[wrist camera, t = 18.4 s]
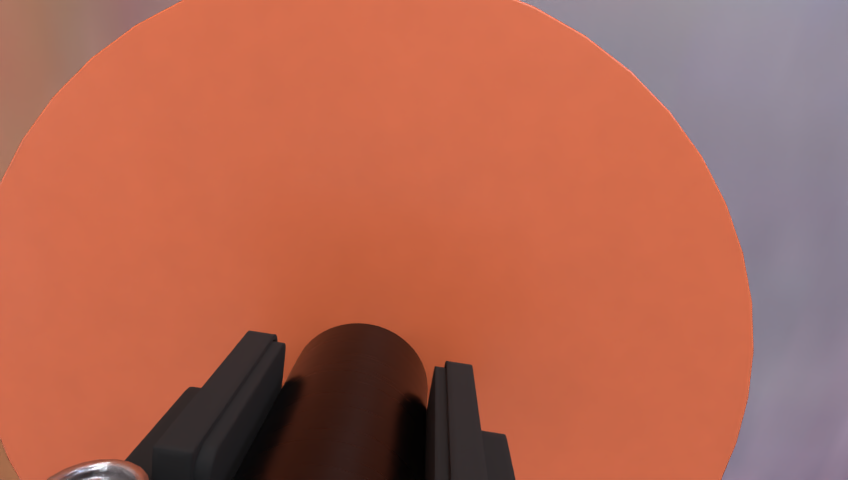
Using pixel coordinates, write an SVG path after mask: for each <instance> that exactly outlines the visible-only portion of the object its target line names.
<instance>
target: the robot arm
mask: <svg viewBox="0 0 848 480" xmlns="http://www.w3.org/2000/svg"><path fill="white" fill-rule="evenodd" d="M285 352H286V345H285V343H282V342H278V340H277V335H276V334H269V333H263V332H257V331H250V330H249V331H248V332H247V333H246V334H245V335H244V337H243V338H242V339H241V340H240V341H239V343H238V344H237V345H236V346H235V347H234V349H233V350H232V351H231V352H230V354H229V355H228V356H227V357H226V358H225V360H224V361H223V362H222V363H221V365H220V366H219V367H218V368H217V369H216V371H215V372H214V373H213V374H212V376H211V377H210V378H209V379H208V380H207V382H206V383H205V384H204V385H203V386H202V388H199V387H189V388H188V389H187V390H185V391H184V393H183V394H182V395H181V396H180V397H179V398H178V400H177V401H176V402H175V403H174V404H173V405H172V406H171V408H170V409H169V410H168V411H167V412H166V413H165V414H164V416H163V417H162V418H161V419H160V420H159V421H158V423H157V424H156V425H155V426H154V427H153V428H152V429H151V431H150V432H149V433H148V434H147V435H146V436H145V438H144V439H143V440H142V441H141V442H140V443H139V444H138V446H137V447H136V448H135V449H134V450H133V451H132V452H131V454H130V455H129V456H128V457H127V458H126V459H125V461H123V460H118V459H98V460H93V461H87V462H82V463H79V464H76V465H73V466H71V467H68V468H65V469H63V470H61V471H60V472H58V473H56V474H54V475H52V476H51V477H49V478H48V479H47V480H233V478H234V476H235V474H236V472H237V471H238V469H239V467H240V465H241V463H242V461H243V459H244V458H245V456H246V454H247V452H248V450H249V448H250V446H251V445H252V443H253V441H254V439H255V437H256V435H257V433H258V432H259V430H260V428H261V426H262V424H263V422H264V420H265V419H266V417H267V415H268V413H269V411H270V409H271V407H272V406H273V404H274V402H275V400H276V398H277V396H278V394H279V393H280V391H281V389H282V380H283V371H284V361H285ZM424 480H515V475H514V470H513V465H512V460H511V456H510V451H509V446H508V441H507V438H506V435H505V434H501V433H495V432H488V431H482V430H481V424H480V417H479V410H478V402H477V395H476V388H475V380H474V373H473V366H472V365H470V364H464V363H457V362H451V361H446V362H445V365H444V367H437V366H435V367H434V372H433V377H432V383H431V388H430V394H429V400H428V405H427V411H426V442H425V475H424Z"/></svg>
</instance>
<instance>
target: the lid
mask: <svg viewBox="0 0 848 480" xmlns="http://www.w3.org/2000/svg"><path fill="white" fill-rule="evenodd" d="M249 330H250V331H257V332H263V333H269V334H276V335H277V340H278V342H282V343H285V345H286V352H285V361H284V371H283V380H282V389H281V391H280V393H279V394H278V396H277V398H276V400H275V402H274V404H273V406H272V407H271V409H270V411H269V413H268V415H267V417H266V419H265V420H264V422H263V424H262V426H261V428H260V430H259V432H258V433H257V435H256V437H255V439H254V441H253V443H252V445H251V446H250V448H249V450H248V452H247V454H246V456H245V458H244V459H243V461H242V463H241V465H240V467H239V469H238V471H237V472H236V474H235V476H234V478H233V480H424V475H425V442H426V411H427V405H428V400H429V394H430V388H431V383H432V377H433V372H434V367H435V366H437V367H444V365H445V362H446V361H451V362H457V363H464V364H470V365H472V366H473V373H474V380H475V388H476V395H477V402H478V410H479V417H480V424H481V430H482V431H488V432H495V433H501V434H505V435H506V438H507V441H508V446H509V451H510V456H511V460H512V465H513V470H514V475H515V480H721V478H722V476H723V474H724V471H725V469H726V466H727V464H728V461H729V459H730V457H731V454H732V452H733V449H734V447H735V445H736V442H737V438H738V435H739V431H740V427H741V423H742V419H743V415H744V412H745V408H746V404H747V400H748V394H749V385H750V377H751V368H752V359H753V323H752V301H751V295H750V290H749V284H748V279H747V273H746V268H745V262H744V256H743V252H742V249H741V246H740V243H739V240H738V237H737V234H736V231H735V228H734V225H733V222H732V220H731V217H730V214H729V211H728V208H727V205H726V203H725V201H724V199H723V197H722V195H721V193H720V191H719V189H718V187H717V185H716V183H715V181H714V179H713V177H712V175H711V173H710V171H709V169H708V167H707V165H706V164H705V162H704V160H703V158H702V156H701V155H700V153H699V152H698V150H697V149H696V148H695V146H694V145H693V143H692V142H691V141H690V139H689V138H688V136H687V135H686V134H685V132H684V131H683V129H682V128H681V127H680V125H679V124H678V122H677V121H676V120H675V118H674V117H673V115H672V114H671V113H670V111H669V110H668V109H667V108H666V107H665V106H664V105H663V104H662V103H661V102H660V101H659V100H658V99H657V98H656V97H655V96H654V95H653V94H652V93H651V92H650V91H649V90H648V88H647V87H646V86H645V85H644V84H643V83H642V82H641V81H640V80H639V79H638V78H637V77H636V76H635V75H634V74H633V73H632V72H631V71H630V70H629V69H627V68H626V67H625V66H624V65H622V64H621V63H620V62H618V61H617V60H616V59H615V58H613V57H612V56H611V55H609V54H608V53H607V52H606V51H604V50H603V49H602V48H600V47H599V46H598V45H597V44H595V43H594V42H593V41H591V40H590V39H589V38H588V37H586V36H585V35H583V34H581V33H580V32H578V31H576V30H574V29H573V28H571V27H569V26H567V25H566V24H564V23H562V22H560V21H559V20H557V19H555V18H553V17H552V16H550V15H548V14H546V13H545V12H543V11H541V10H539V9H538V8H536V7H534V6H532V5H529V4H527V3H524V2H522V1H519V0H182V1H180V2H178V3H176V4H175V5H173V6H171V7H169V8H167V9H165V10H163V11H161V12H159V13H158V14H156V15H154V16H152V17H150V18H148V19H146V20H144V21H143V22H141V23H139V24H137V25H135V26H134V27H133V28H131V29H130V30H129V31H127V32H126V33H125V34H123V35H122V36H121V37H119V38H118V39H116V40H115V41H114V42H112V43H111V44H110V45H108V46H107V47H106V48H104V49H103V50H102V51H100V52H99V53H98V54H96V55H95V56H94V57H92V58H91V59H90V60H89V61H88V62H87V63H86V64H85V65H84V66H83V67H82V68H81V69H80V70H79V71H78V72H77V73H76V74H75V75H74V76H73V77H72V78H71V79H70V80H69V81H68V82H67V83H66V84H65V85H64V86H63V87H62V88H61V89H60V90H59V91H58V92H57V93H56V94H55V95H54V97H53V98H52V99H51V101H50V102H49V103H48V105H47V106H46V108H45V109H44V110H43V112H42V113H41V114H40V116H39V117H38V119H37V120H36V121H35V123H34V124H33V125H32V127H31V128H30V130H29V131H28V132H27V134H26V135H25V137H24V138H23V139H22V141H21V143H20V145H19V147H18V149H17V151H16V153H15V155H14V157H13V159H12V161H11V163H10V165H9V167H8V169H7V171H6V173H5V175H4V177H3V179H2V181H1V182H0V439H1V442H2V444H3V447H4V449H5V452H6V454H7V457H8V459H9V461H10V463H11V464H12V466H13V468H14V470H15V472H16V473H17V475H18V477H19V479H20V480H47V479H48V478H49V477H51V476H52V475H54V474H56V473H58V472H60V471H61V470H63V469H65V468H68V467H71V466H73V465H76V464H79V463H82V462H87V461H93V460H98V459H118V460H123V461H125V459H126V458H127V457H128V456H129V455H130V454H131V452H132V451H133V450H134V449H135V448H136V447H137V446H138V444H139V443H140V442H141V441H142V440H143V439H144V438H145V436H146V435H147V434H148V433H149V432H150V431H151V429H152V428H153V427H154V426H155V425H156V424H157V423H158V421H159V420H160V419H161V418H162V417H163V416H164V414H165V413H166V412H167V411H168V410H169V409H170V408H171V406H172V405H173V404H174V403H175V402H176V401H177V400H178V398H179V397H180V396H181V395H182V394H183V393H184V391H185V390H187V389H188V388H189V387H199V388H202V386H203V385H204V384H205V383H206V382H207V380H208V379H209V378H210V377H211V376H212V374H213V373H214V372H215V371H216V369H217V368H218V367H219V366H220V365H221V363H222V362H223V361H224V360H225V358H226V357H227V356H228V355H229V354H230V352H231V351H232V350H233V349H234V347H235V346H236V345H237V344H238V343H239V341H240V340H241V339H242V338H243V337H244V335H245V334H246V333H247V332H248V331H249Z"/></svg>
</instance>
